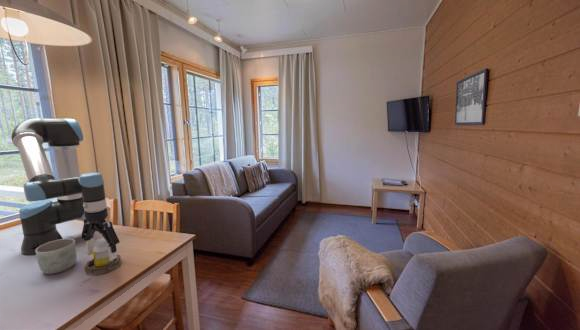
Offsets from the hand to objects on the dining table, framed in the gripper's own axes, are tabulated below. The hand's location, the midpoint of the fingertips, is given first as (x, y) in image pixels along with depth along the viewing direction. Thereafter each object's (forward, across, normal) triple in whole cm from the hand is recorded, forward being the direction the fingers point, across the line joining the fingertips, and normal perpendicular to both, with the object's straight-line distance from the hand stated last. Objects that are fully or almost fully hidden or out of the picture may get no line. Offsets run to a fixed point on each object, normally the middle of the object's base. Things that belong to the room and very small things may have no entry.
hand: (102, 256), depth 107 cm
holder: (+5, 0, 0) cm, 5 cm away
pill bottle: (+4, 0, 0) cm, 4 cm away
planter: (+5, -17, -7) cm, 19 cm away
